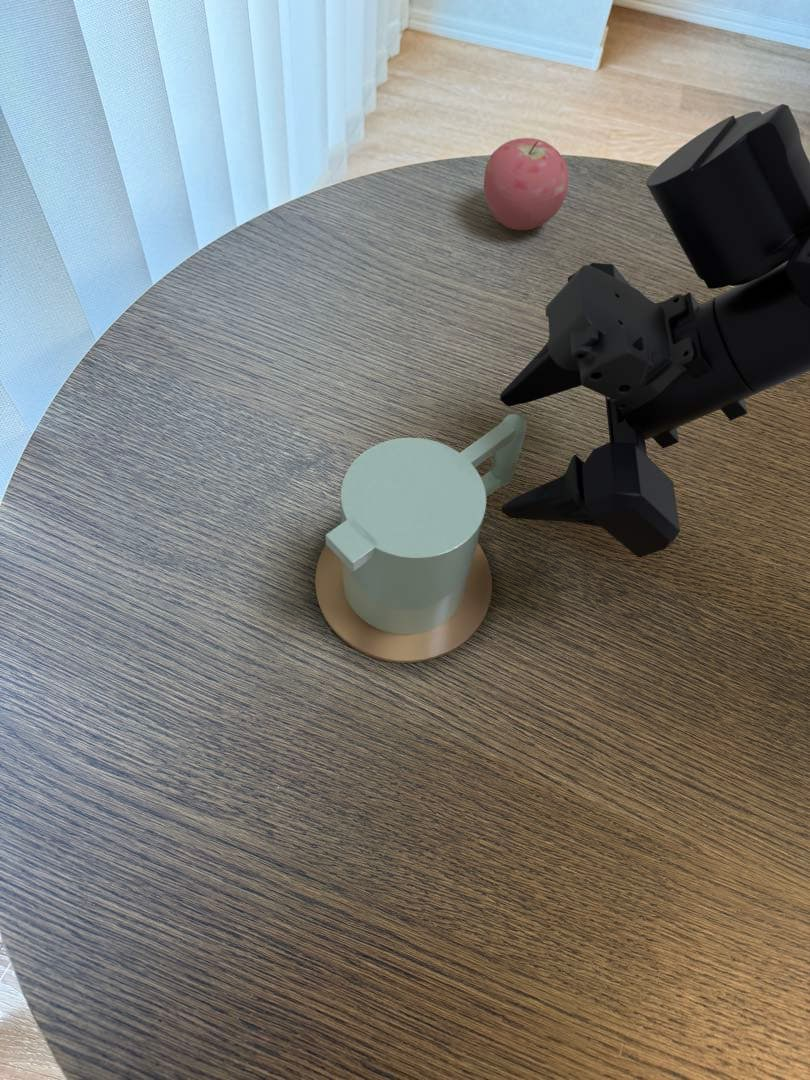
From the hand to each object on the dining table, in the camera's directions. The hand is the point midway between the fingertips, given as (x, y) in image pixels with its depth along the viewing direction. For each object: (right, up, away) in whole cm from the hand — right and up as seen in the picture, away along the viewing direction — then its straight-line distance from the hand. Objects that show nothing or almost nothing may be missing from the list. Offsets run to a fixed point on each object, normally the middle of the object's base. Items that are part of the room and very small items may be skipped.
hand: (504, 454), depth 54 cm
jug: (-5, -7, +2) cm, 9 cm away
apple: (+4, +24, +23) cm, 33 cm away
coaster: (-7, -8, +2) cm, 11 cm away
